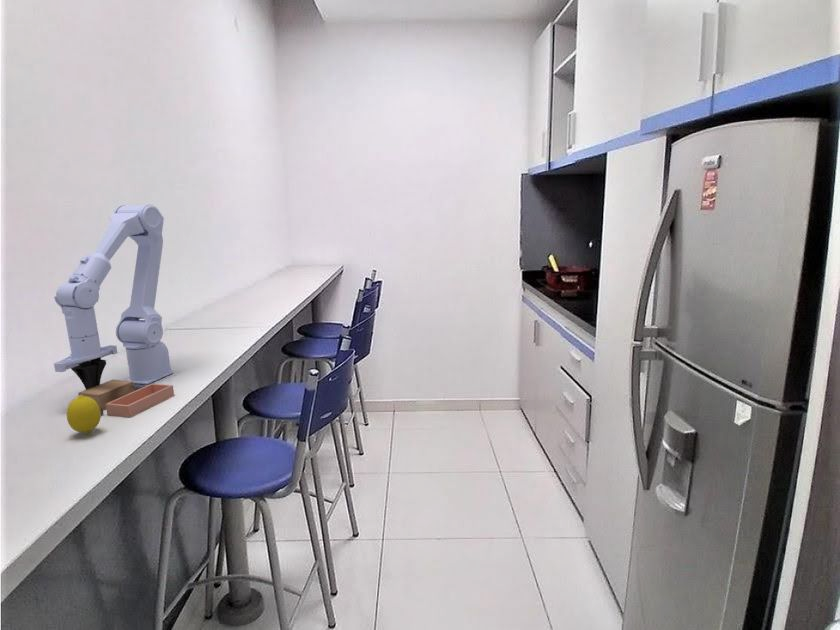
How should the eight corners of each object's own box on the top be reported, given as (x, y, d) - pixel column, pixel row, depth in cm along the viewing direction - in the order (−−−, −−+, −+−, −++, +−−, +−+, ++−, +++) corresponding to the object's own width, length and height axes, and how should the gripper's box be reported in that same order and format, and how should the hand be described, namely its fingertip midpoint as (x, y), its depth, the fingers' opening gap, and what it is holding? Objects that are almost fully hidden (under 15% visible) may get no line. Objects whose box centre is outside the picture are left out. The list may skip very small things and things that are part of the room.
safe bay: (127, 388, 128) (127, 383, 128) (154, 391, 126) (153, 386, 126) (68, 414, 113) (67, 408, 113) (97, 417, 111) (96, 412, 111)
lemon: (97, 425, 107) (90, 388, 105) (108, 432, 104) (101, 394, 102) (66, 435, 103) (59, 396, 101) (76, 442, 99) (69, 402, 98)
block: (116, 395, 125) (113, 379, 124) (135, 397, 123) (132, 381, 122) (81, 409, 117) (78, 392, 116) (101, 412, 115) (98, 395, 114)
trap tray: (153, 393, 125) (151, 383, 124) (174, 395, 123) (172, 385, 122) (107, 415, 112) (105, 404, 112) (129, 417, 111) (128, 406, 110)
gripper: (97, 326, 126) (106, 380, 129) (39, 342, 112) (50, 402, 115) (120, 327, 124) (129, 382, 127) (64, 344, 110) (75, 405, 113)
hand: (93, 392), depth 121 cm, fingers closed
